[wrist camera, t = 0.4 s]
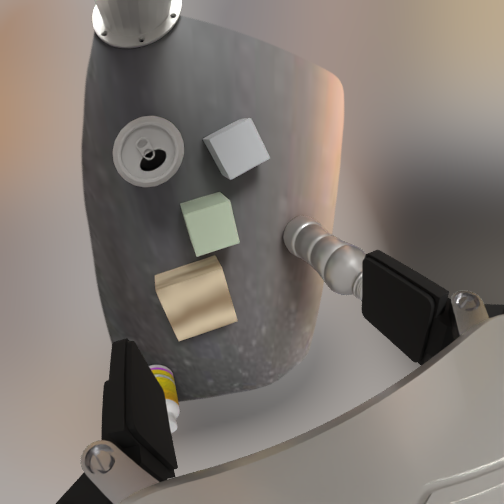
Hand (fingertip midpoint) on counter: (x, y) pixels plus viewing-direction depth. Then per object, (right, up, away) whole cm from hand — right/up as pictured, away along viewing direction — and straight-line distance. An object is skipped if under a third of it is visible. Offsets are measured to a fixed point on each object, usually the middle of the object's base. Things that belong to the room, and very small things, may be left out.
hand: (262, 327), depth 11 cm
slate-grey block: (-3, +18, +29) cm, 34 cm away
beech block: (-10, -4, +36) cm, 38 cm away
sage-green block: (-7, +8, +32) cm, 33 cm away
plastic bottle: (+7, +6, +38) cm, 39 cm away
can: (-14, +17, +25) cm, 34 cm away
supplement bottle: (-19, -21, +40) cm, 49 cm away
